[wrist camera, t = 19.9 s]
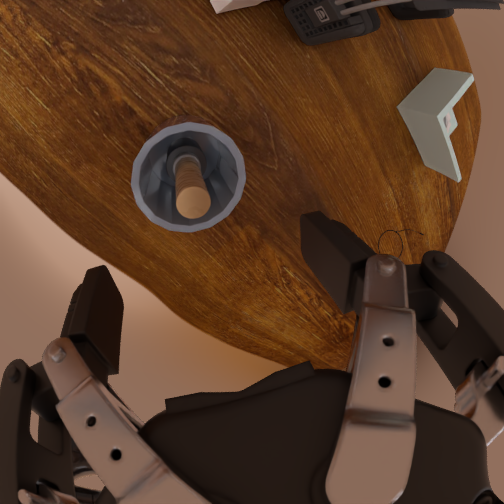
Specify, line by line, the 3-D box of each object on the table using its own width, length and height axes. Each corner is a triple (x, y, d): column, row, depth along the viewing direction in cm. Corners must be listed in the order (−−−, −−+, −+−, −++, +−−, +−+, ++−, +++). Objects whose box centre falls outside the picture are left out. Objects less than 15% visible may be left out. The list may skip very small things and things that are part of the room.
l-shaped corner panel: (424, 165, 36) (458, 182, 30) (396, 106, 30) (436, 116, 23) (457, 124, 33) (490, 137, 27) (434, 67, 27) (472, 73, 21)
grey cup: (155, 198, 29) (149, 243, 21) (137, 126, 24) (118, 141, 16) (228, 180, 30) (252, 217, 22) (216, 107, 25) (237, 112, 17)
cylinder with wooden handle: (171, 174, 27) (171, 238, 16) (163, 142, 25) (155, 182, 14) (204, 166, 28) (229, 223, 16) (198, 133, 26) (219, 166, 14)
